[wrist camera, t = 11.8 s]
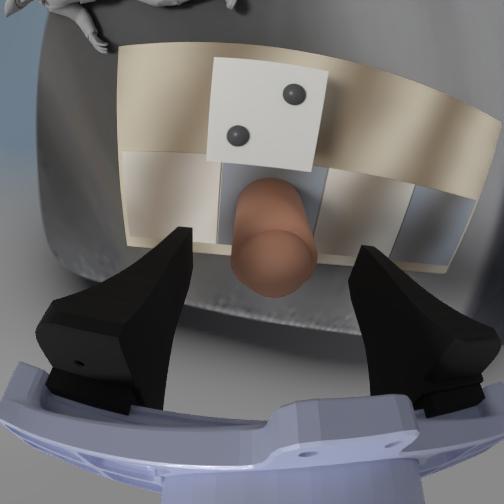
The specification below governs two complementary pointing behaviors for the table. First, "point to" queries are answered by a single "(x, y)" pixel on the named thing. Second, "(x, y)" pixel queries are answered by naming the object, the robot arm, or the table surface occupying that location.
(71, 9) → the soldier figure
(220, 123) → the die
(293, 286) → the pawn
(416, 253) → the board
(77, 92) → the table surface
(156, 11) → the table surface
